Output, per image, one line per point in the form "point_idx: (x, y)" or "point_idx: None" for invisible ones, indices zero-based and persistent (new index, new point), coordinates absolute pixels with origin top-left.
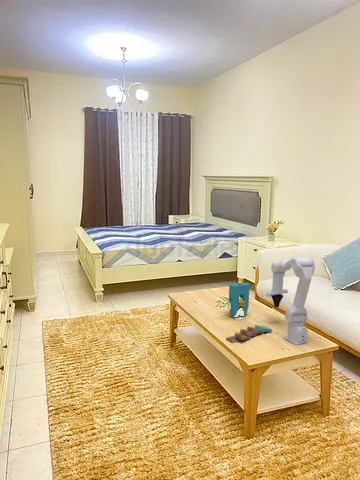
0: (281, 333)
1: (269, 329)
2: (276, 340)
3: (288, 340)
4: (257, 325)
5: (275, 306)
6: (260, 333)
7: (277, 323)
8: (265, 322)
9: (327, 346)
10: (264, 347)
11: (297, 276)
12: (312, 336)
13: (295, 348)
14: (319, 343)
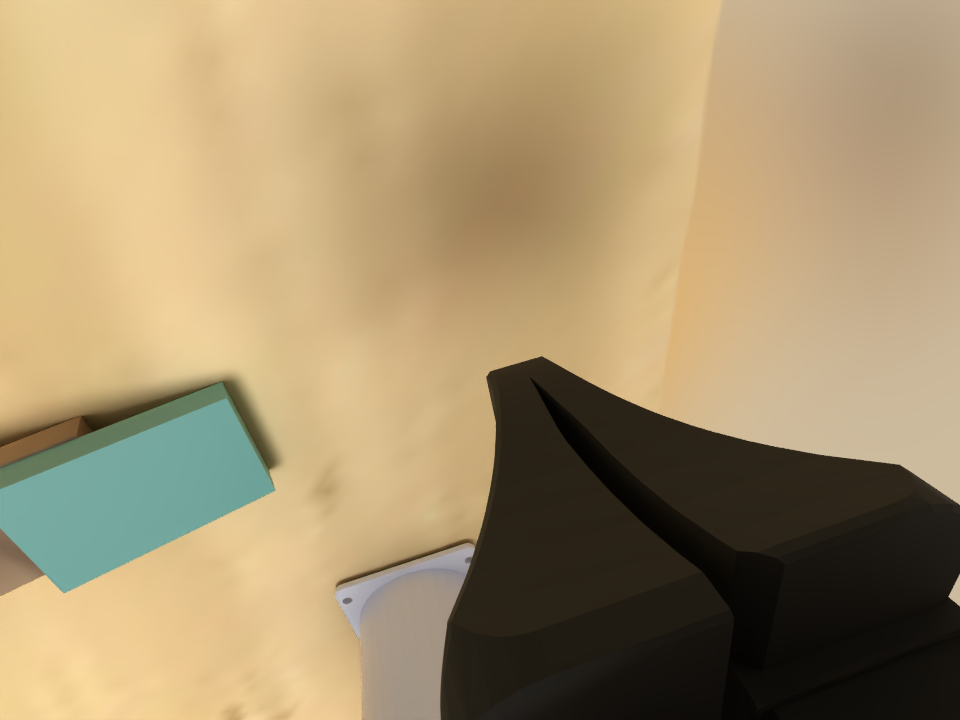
0: (373, 498)
1: (226, 512)
2: (244, 614)
3: (353, 627)
4: (18, 507)
5: (495, 418)
6: None
7: (488, 240)
8: (328, 155)
9: None
10: (67, 715)
11: None
12: None
13: (342, 704)
14: None
